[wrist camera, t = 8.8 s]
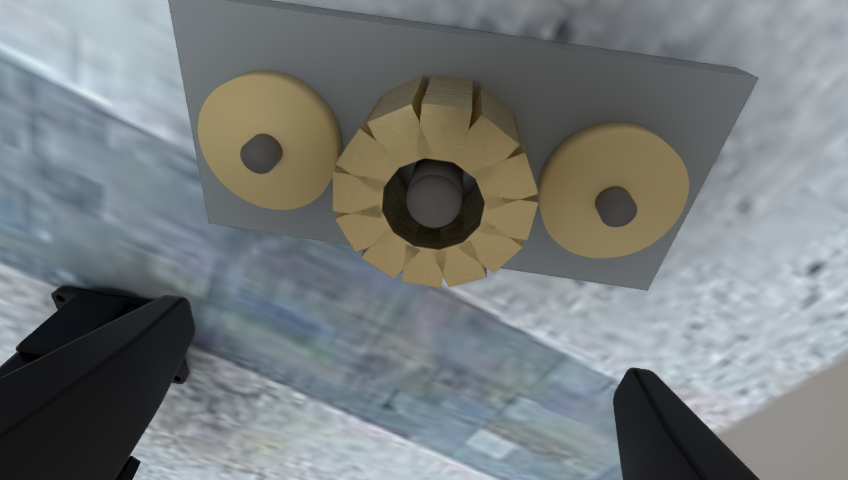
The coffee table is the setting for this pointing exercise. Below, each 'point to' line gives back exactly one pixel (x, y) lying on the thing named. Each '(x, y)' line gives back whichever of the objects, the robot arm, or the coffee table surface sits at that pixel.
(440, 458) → the coffee table surface
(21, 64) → the coffee table surface
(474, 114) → the brass gear
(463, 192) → the gear board
